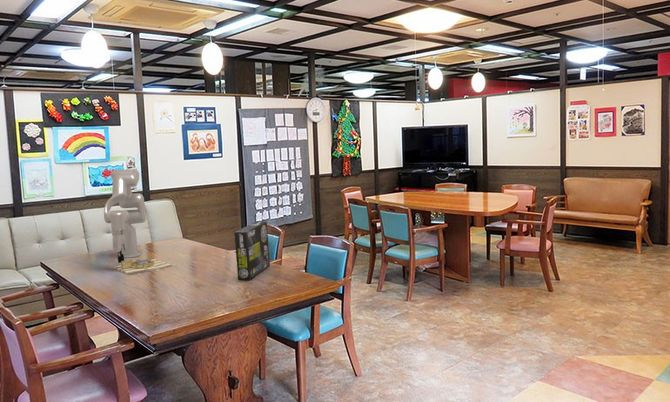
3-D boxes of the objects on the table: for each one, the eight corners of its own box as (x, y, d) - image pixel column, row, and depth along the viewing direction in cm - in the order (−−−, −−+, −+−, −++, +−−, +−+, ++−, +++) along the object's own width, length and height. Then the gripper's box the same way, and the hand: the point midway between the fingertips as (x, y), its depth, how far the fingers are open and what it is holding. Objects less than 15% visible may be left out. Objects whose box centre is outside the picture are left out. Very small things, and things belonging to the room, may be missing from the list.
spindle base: (113, 268, 324) (112, 262, 324) (154, 260, 341) (154, 255, 341) (128, 275, 305) (128, 268, 304) (171, 266, 322) (171, 260, 321)
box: (250, 280, 280) (247, 231, 278) (237, 280, 282) (233, 231, 279) (270, 266, 313) (267, 221, 310) (258, 265, 315) (255, 221, 312)
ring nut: (118, 267, 320) (117, 259, 320) (149, 261, 333) (148, 254, 332) (126, 270, 310) (125, 262, 309) (158, 264, 322) (157, 257, 322)
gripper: (108, 232, 321) (110, 261, 323) (116, 234, 310) (119, 265, 312) (120, 230, 326) (123, 259, 328) (129, 232, 315) (132, 263, 317)
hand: (121, 262), depth 320 cm, fingers closed
